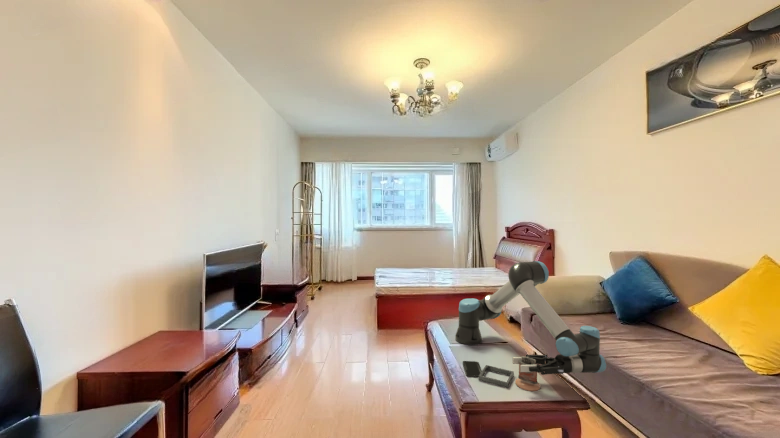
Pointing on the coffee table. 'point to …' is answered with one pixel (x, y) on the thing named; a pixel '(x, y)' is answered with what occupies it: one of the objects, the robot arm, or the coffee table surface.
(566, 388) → the coffee table surface
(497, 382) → the holder frame
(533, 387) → the coaster
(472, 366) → the phone
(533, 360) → the lighter
